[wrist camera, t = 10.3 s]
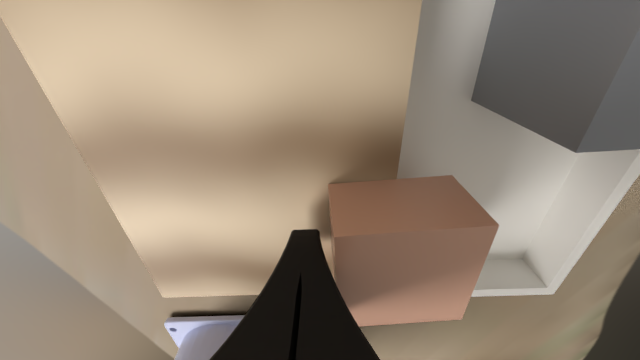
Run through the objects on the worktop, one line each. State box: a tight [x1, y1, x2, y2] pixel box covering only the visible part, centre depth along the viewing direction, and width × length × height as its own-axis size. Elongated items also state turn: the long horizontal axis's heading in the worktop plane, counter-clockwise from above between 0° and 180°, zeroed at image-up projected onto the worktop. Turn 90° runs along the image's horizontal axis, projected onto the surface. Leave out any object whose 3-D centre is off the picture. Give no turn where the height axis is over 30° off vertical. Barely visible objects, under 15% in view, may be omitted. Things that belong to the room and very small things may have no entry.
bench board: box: [0, 0, 422, 298], centre depth 11 cm, size 16×12×2 cm
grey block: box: [471, 0, 640, 153], centre depth 7 cm, size 5×5×3 cm
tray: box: [397, 0, 640, 297], centre depth 11 cm, size 17×10×2 cm, turn 2°
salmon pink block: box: [328, 175, 499, 326], centre depth 10 cm, size 5×5×3 cm
